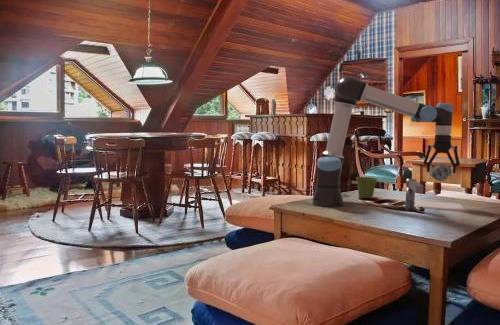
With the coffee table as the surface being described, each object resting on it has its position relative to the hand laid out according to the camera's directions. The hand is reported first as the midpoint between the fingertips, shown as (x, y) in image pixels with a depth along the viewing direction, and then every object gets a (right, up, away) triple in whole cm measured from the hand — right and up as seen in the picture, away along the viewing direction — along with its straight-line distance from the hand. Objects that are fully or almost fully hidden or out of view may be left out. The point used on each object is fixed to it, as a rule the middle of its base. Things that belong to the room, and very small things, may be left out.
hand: (440, 179), depth 226 cm
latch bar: (-21, -4, -21) cm, 30 cm away
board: (0, -14, +1) cm, 14 cm away
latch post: (-19, -14, -11) cm, 26 cm away
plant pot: (-32, -12, +22) cm, 40 cm away
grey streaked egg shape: (0, -1, 0) cm, 1 cm away
